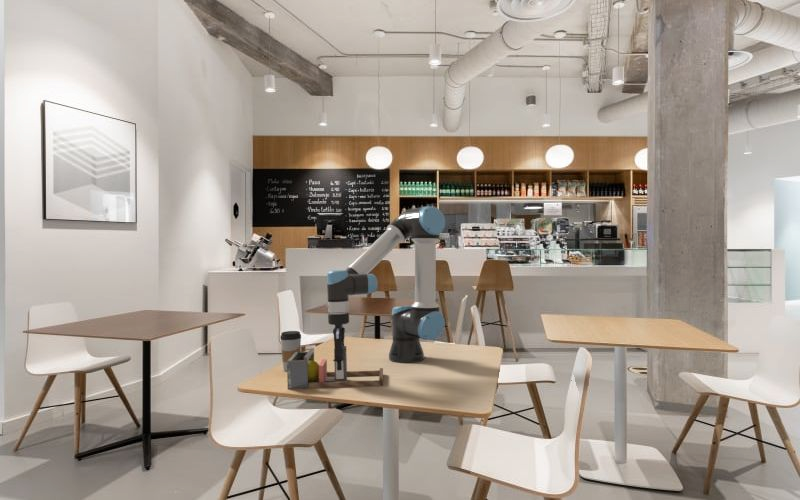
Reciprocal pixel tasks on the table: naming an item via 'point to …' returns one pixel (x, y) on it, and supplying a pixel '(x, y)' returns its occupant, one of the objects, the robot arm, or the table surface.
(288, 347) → the coffee cup
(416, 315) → the robot arm
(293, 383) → the grey open bin
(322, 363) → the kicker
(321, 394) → the table surface
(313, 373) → the lemon
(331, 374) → the lane rails
